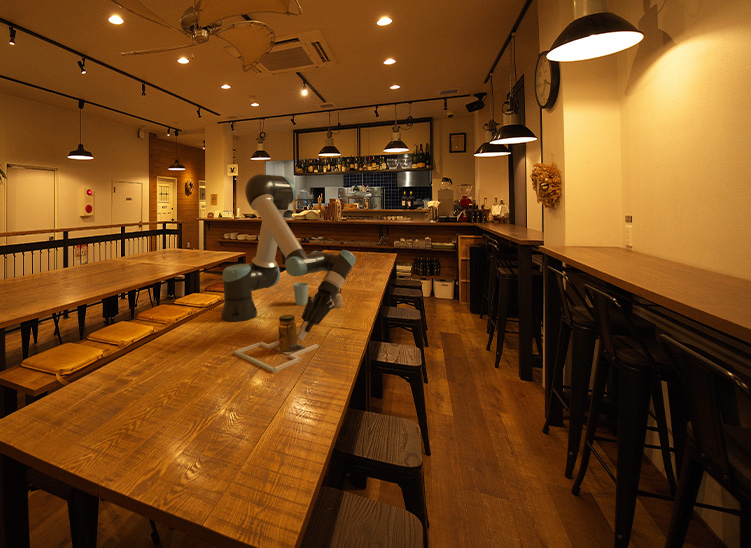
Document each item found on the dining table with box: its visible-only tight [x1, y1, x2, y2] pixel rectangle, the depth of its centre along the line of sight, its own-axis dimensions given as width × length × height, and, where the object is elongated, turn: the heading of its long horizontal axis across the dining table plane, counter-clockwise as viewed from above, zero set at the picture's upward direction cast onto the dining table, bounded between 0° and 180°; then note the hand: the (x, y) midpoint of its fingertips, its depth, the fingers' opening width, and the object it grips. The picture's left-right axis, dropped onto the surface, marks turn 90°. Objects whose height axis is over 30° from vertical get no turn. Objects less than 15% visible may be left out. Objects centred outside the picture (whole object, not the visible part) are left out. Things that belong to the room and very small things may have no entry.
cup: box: [292, 282, 309, 306], centre depth 181 cm, size 8×8×10 cm
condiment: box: [274, 314, 306, 355], centre depth 124 cm, size 7×8×12 cm
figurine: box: [332, 287, 344, 309], centre depth 177 cm, size 7×7×12 cm
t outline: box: [233, 340, 319, 374], centre depth 121 cm, size 22×22×1 cm
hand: (299, 338), depth 127 cm, fingers closed
